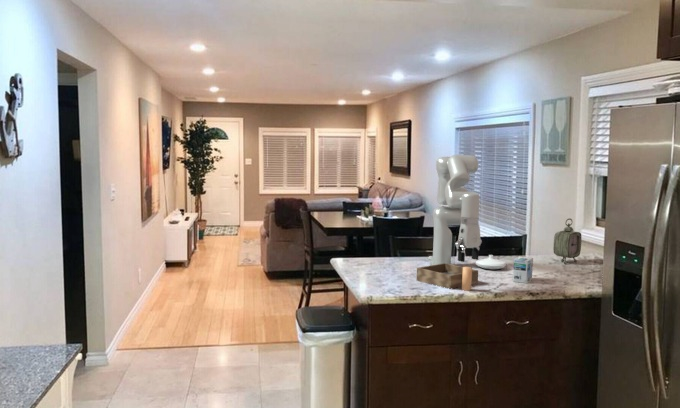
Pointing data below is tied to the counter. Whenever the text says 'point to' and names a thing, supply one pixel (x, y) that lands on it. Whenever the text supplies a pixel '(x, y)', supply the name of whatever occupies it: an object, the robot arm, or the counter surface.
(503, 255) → the counter surface
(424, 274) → the bore box
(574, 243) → the tabletop clock
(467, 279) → the peg
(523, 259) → the light bulb box
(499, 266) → the vase
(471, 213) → the robot arm
